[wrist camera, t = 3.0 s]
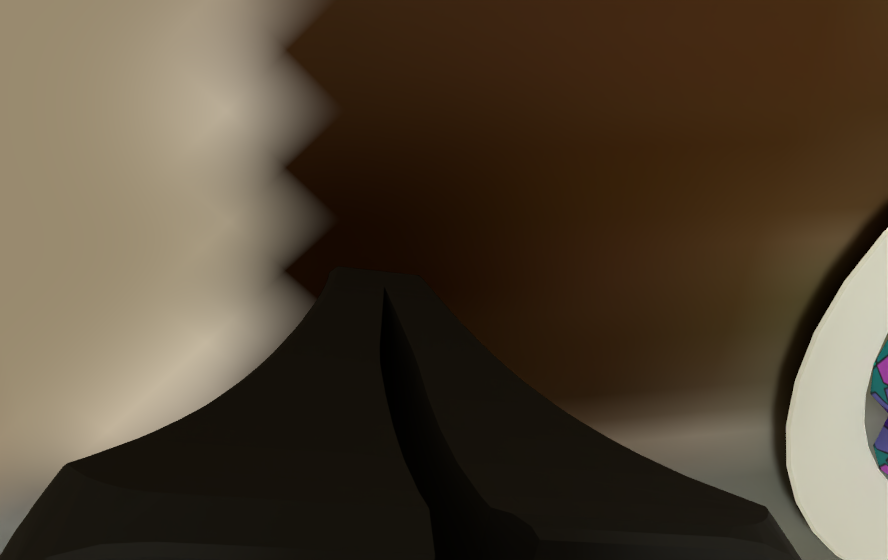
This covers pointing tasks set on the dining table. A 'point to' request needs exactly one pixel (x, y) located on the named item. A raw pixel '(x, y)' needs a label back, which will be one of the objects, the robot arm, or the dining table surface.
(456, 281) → the dining table surface
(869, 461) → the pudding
